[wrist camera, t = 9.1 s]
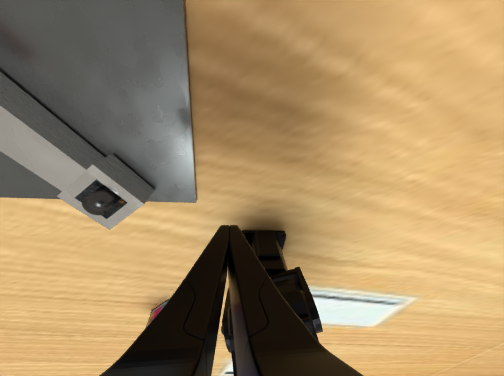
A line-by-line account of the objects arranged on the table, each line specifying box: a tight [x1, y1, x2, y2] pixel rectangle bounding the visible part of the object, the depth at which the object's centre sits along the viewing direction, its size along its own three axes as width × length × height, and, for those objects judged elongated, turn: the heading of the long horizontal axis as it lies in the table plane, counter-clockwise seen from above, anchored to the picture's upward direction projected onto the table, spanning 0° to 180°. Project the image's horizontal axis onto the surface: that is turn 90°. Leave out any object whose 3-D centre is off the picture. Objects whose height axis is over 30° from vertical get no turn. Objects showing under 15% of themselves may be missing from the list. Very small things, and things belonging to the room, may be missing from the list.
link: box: [0, 72, 155, 230], centre depth 15 cm, size 18×5×3 cm, turn 34°
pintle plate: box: [0, 0, 197, 215], centre depth 14 cm, size 19×22×5 cm
